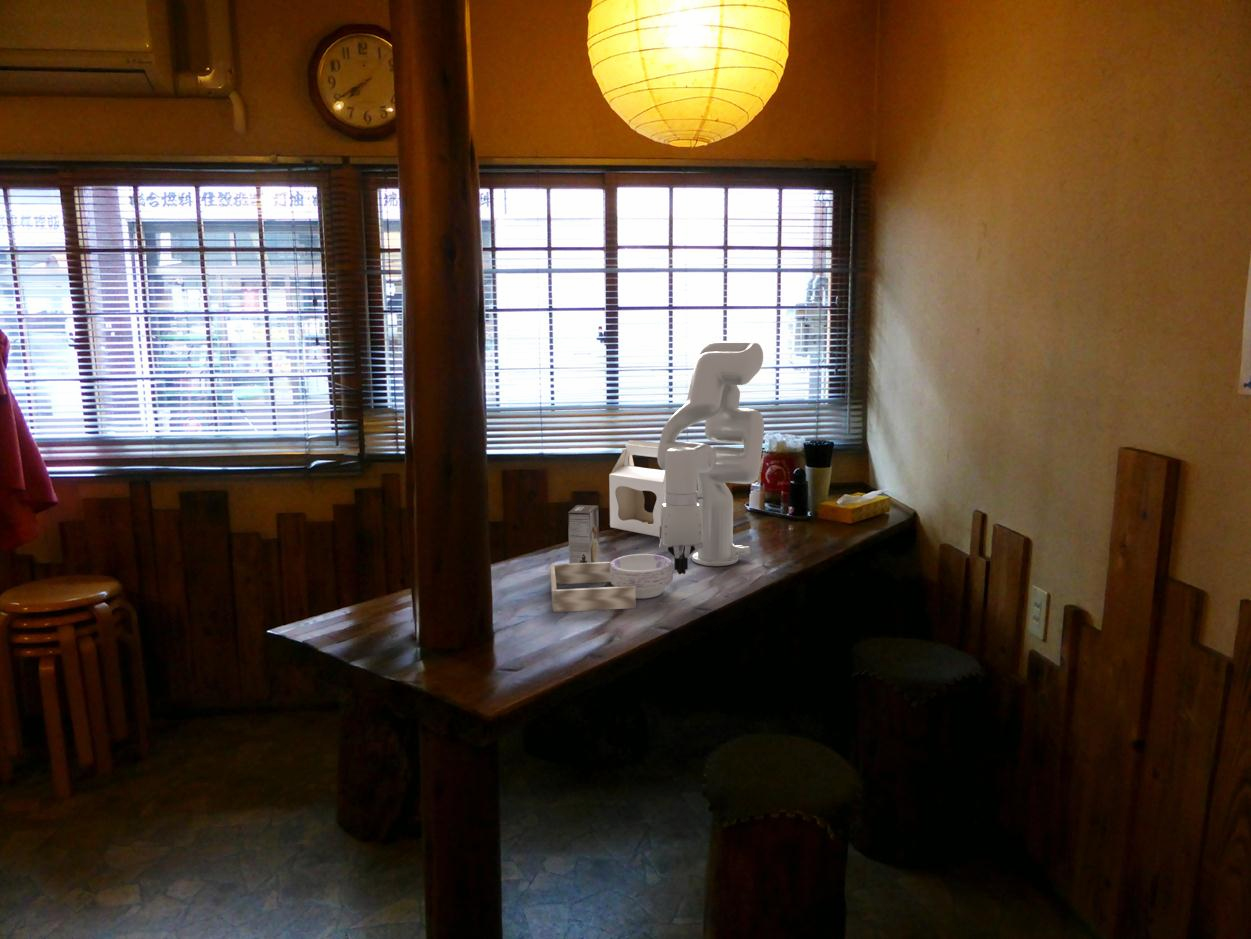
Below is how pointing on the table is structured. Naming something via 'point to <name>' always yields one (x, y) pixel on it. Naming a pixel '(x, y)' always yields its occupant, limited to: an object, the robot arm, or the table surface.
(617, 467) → the gable box
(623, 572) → the paper bowls
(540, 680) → the table surface
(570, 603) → the box
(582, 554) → the coffee box
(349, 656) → the table surface
